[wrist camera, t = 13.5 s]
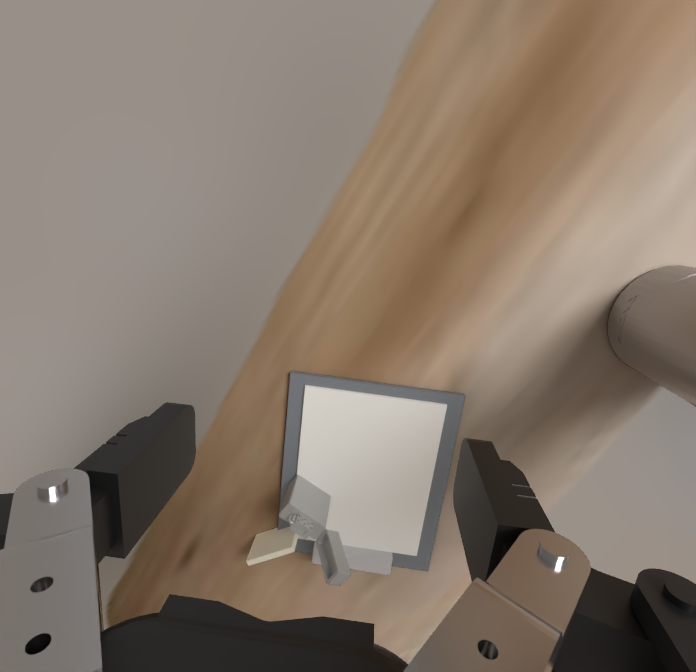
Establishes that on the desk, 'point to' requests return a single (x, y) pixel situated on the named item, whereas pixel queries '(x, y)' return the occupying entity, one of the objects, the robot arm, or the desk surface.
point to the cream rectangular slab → (272, 545)
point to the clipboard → (372, 464)
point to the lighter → (315, 526)
